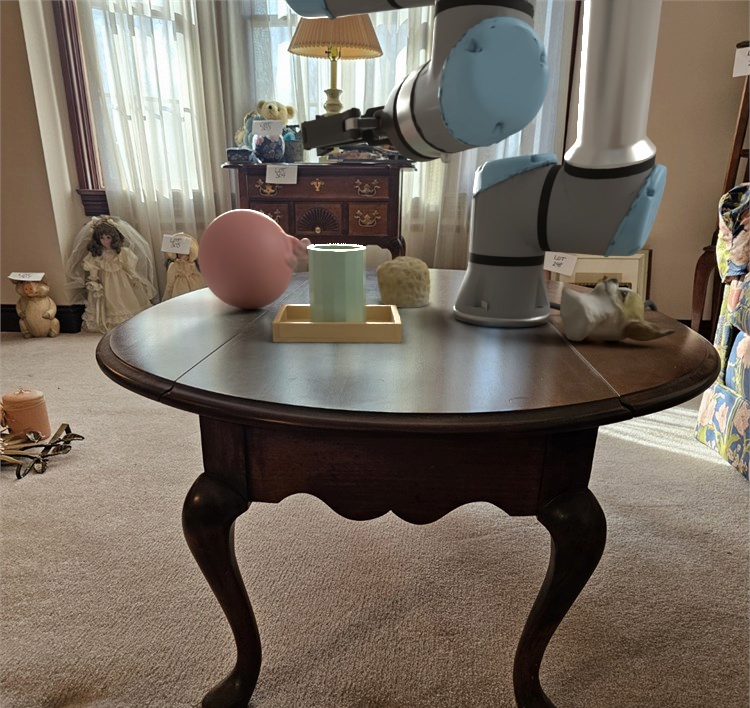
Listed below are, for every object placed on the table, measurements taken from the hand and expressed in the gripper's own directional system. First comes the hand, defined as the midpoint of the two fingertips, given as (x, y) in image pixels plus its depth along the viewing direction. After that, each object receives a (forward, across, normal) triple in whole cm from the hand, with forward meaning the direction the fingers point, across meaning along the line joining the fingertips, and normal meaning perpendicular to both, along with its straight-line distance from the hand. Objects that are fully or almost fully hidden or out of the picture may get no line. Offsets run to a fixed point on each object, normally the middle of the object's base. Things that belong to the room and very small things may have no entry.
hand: (374, 141), depth 79 cm
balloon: (+29, -13, -22) cm, 39 cm away
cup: (+10, -4, -23) cm, 25 cm away
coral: (+29, +12, -23) cm, 39 cm away
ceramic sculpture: (-4, +31, -27) cm, 41 cm away
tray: (+10, -4, -23) cm, 26 cm away
